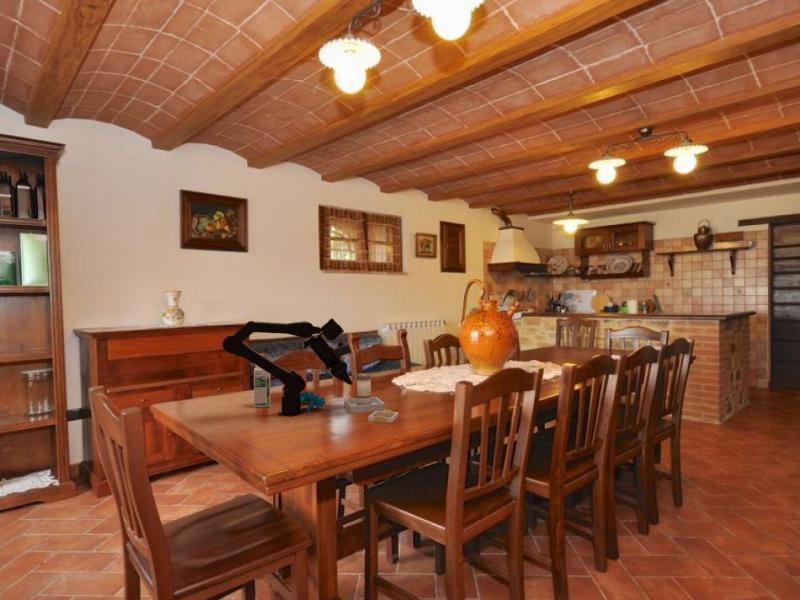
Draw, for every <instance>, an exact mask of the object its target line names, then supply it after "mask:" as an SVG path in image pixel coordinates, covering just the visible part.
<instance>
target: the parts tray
mask: <svg viewBox="0 0 800 600" xmlns="http://www.w3.org/2000/svg"><path fill="white" fill-rule="evenodd" d="M343 402H344V405H343V406H344V408H346V410H347V411H348V412H349V413H350V414H360V413H362V414H363V413H374V412H375V411H383V410H386V404H385V402H383V401H382V400H381V399H380V398H379V397H376V396H371V404H370V405H357V398H345V399H344V400H343Z"/></svg>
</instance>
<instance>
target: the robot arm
mask: <svg viewBox="0 0 800 600" xmlns="http://www.w3.org/2000/svg"><path fill="white" fill-rule="evenodd" d="M253 333H258V334H259V333H262V334H283V335H284V334H285V335H286V334H287V335H289V336H290V335H291V336H293V337H299V338H303V339H307V340H303V341H302V342H303V344H302V348H303V349H306V348H310V349H311V350H312V352H313V353H314V355H316V357H317V358H318V359H319V360H320V361H321V363H323V366H324V367H325V368H326V370H327V371H328V372H329V373H330V375H332V377H334V378H336V379H338V380H339V381H342V382H343V383H345V384H347V385H349V386H352V385H353V381H352V380H351V377H350V375H349V373H348V372H347V371H348V367H349V366H348V363H347V362H346V361H345V360H344V359H341V358H342V356H346V355H349V354H351V353H352V349H351V345H350V344H349V343H343V342H342V341H340V342H337V345H336V347H332V346H330V345H329V343H328V342H329V341H331V342H334V341H335V340H336V339H337V338H339V337H340V336H341V335H342V334H343V333H345V330H344V329H343V328H342V326H341V325H340V324H338V322H337V321H336V320H334V318H332V317H331V318H330V319H328V321H327V322H325V324H323V325H322V326H318V325H317V326H315V325H314V324H312V322H309V321H306V320H303V321H294V322H287V323H286V322H285V323H284V322H268V321H254V320H249V321H247V322H246V323H245V325H243V326H242V327H241V328H239V330H237V331H236V332H235V333H234V334H233V333H232V334H229V335H227V336H226V337H224V339H223V341H222V348H223V350H224V351H225V352H227V353H230V354H231V355H234V356H237V357H240V358H243V359H246V360H247V361H248V362H250V363H252V364H253V365H255V366H257V368H262V369H263V370H265V371H266V372H268V373H270V376H271V375H272V377H275V378H277V379H278V380H279V381H280V382H281V383H282V384H283V385H284V386H283V387H282V388H281V391H282V394H283V396H281V411H279V412H277V413H278V415H284V416H289V417H293V416H296V415H300V414H302V413H304V412H305V411H304V410H301V409H302V406H301V399H300V394H301V392H304V390H305V388H306V381H305V379H304V378H303V375H302V373H301V372H297V371H296V370H295V369H294V368H293V367H290V370H287V369H285V368H283V367H281V365H278V364H277V363H275V362H273V361H271V360H270V359H268V358H267V357H265V356H264V355H262V354H260V353H259V352H257V351H255V350H254V349H253V348H251V347H250V346H249V345H248V344H247V343H246V342H245V340H246V339H248V338H249V337H250V336H251V335H252V334H253ZM313 335H315V336H313ZM324 338H325V339H324ZM326 340H327V341H326Z"/></svg>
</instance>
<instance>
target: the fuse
mask: <svg viewBox="0 0 800 600" xmlns="http://www.w3.org/2000/svg"><path fill="white" fill-rule="evenodd" d="M356 382H357V383H356V385H357V387H356V393H357V394H356V397H357V405H370V404H371V397H372V392H371V391H372V390H371V389H372V384H371V383H372V373H367V372H366V373H365V372H362V373H357V374H356Z"/></svg>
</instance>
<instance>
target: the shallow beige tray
mask: <svg viewBox="0 0 800 600" xmlns="http://www.w3.org/2000/svg"><path fill="white" fill-rule="evenodd" d="M398 418H399V412H398V411H393V410H392V409H385V410H383V411H375V412H372V413H371V414H370V415H369V416H368V417H367V420H368V422H372V423H373V422H374V423H380V424H383V423H384V424H385V423H388V424H389V423H391V424H393V422H395V421H396V420H397V419H398Z"/></svg>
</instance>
